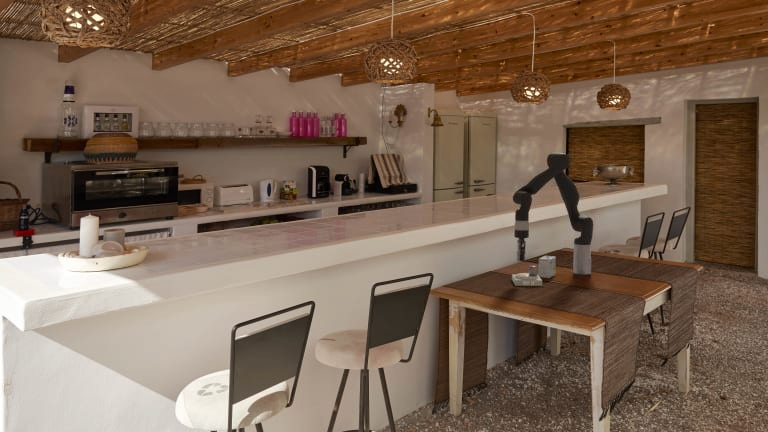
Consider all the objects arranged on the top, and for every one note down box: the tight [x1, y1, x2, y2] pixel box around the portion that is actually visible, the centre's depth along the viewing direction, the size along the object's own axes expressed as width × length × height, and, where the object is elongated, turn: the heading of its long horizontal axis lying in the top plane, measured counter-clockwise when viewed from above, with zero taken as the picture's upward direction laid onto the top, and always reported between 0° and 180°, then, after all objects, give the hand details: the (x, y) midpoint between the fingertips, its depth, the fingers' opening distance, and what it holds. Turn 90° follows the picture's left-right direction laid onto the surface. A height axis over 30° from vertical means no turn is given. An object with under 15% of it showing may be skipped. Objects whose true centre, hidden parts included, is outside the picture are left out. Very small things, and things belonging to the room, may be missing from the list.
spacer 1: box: [516, 250, 526, 262], centre depth 318 cm, size 4×4×5 cm
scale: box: [511, 272, 543, 287], centre depth 319 cm, size 14×14×4 cm
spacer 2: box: [528, 265, 538, 276], centre depth 318 cm, size 4×4×5 cm
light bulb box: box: [538, 255, 557, 279], centre depth 335 cm, size 11×7×11 cm, turn 146°
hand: (521, 259), depth 318 cm, fingers closed on spacer 1, 4 cm apart
